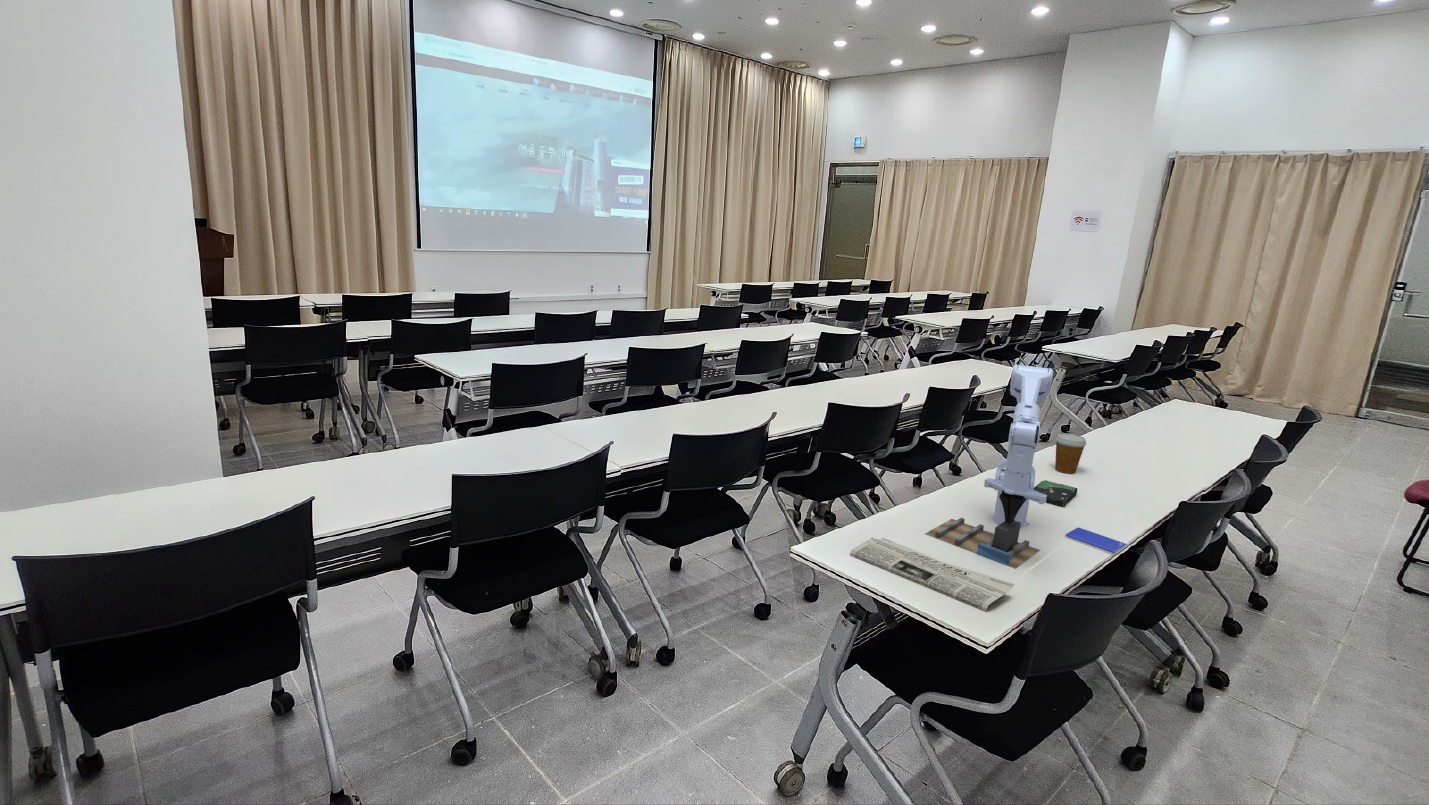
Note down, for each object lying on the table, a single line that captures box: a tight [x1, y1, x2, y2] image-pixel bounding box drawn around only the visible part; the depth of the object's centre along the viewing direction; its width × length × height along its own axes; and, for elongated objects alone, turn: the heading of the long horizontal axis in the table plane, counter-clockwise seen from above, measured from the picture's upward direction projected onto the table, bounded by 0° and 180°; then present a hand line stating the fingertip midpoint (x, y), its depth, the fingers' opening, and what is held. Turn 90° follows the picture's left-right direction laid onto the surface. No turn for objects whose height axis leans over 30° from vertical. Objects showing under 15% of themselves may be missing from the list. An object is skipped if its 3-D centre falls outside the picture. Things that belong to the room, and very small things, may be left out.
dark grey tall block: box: [992, 520, 1022, 553], centre depth 175 cm, size 8×3×7 cm, turn 135°
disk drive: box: [1033, 479, 1078, 509], centre depth 215 cm, size 10×3×15 cm
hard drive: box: [1064, 526, 1128, 556], centre depth 185 cm, size 2×8×12 cm
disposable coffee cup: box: [1054, 432, 1087, 475], centre depth 238 cm, size 10×10×12 cm
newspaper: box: [849, 537, 1015, 612], centre depth 163 cm, size 35×12×4 cm, turn 47°
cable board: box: [924, 517, 1041, 569], centre depth 180 cm, size 15×24×3 cm, turn 45°
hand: (1009, 521), depth 174 cm, fingers closed
